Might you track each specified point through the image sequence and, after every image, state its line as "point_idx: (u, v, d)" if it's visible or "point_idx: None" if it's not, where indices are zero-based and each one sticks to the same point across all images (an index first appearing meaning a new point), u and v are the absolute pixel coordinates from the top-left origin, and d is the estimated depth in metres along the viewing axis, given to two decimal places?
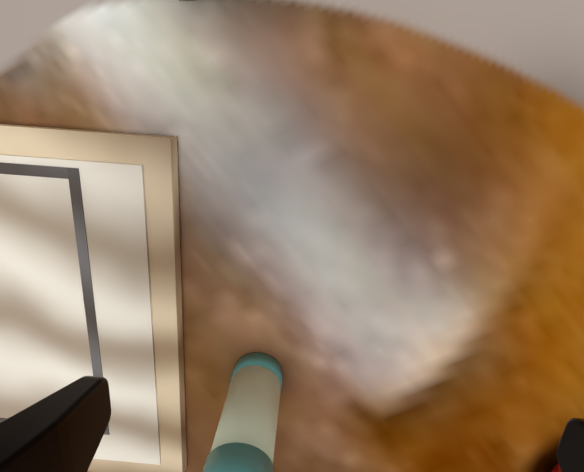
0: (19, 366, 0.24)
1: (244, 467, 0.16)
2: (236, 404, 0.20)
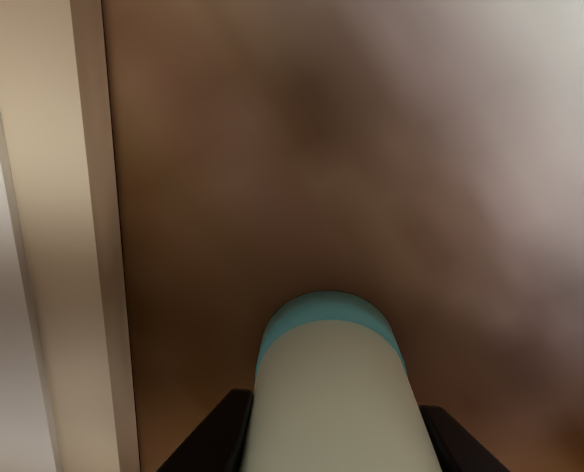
0: None
1: None
2: (303, 463, 0.05)
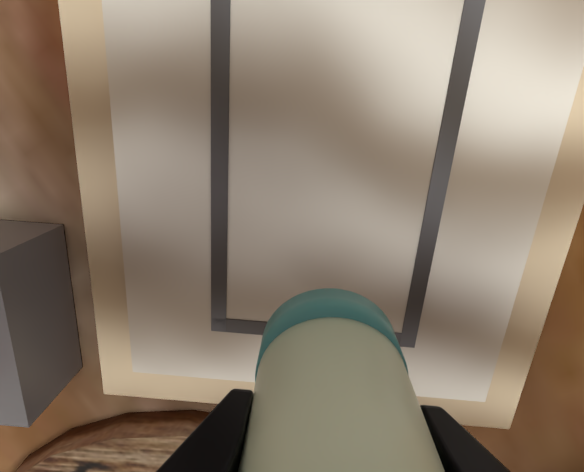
0: (286, 215, 0.13)
1: None
2: (304, 461, 0.04)
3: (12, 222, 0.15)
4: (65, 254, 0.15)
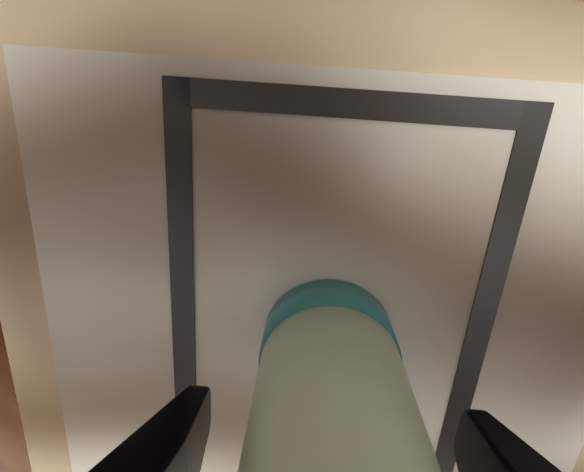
0: None
1: None
2: (303, 432, 0.05)
3: None
4: None
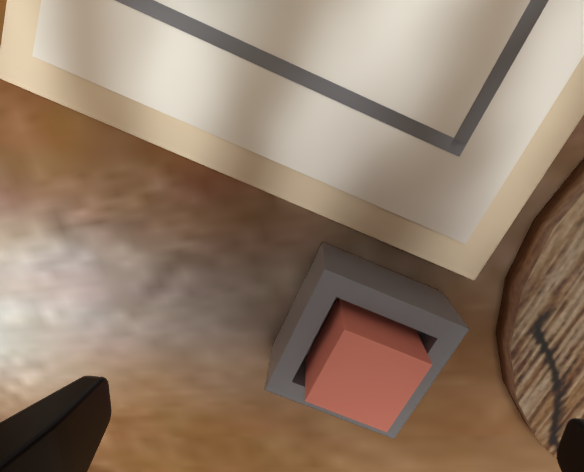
0: (385, 43, 0.15)
1: None
2: None
3: (307, 274, 0.19)
4: (345, 252, 0.19)
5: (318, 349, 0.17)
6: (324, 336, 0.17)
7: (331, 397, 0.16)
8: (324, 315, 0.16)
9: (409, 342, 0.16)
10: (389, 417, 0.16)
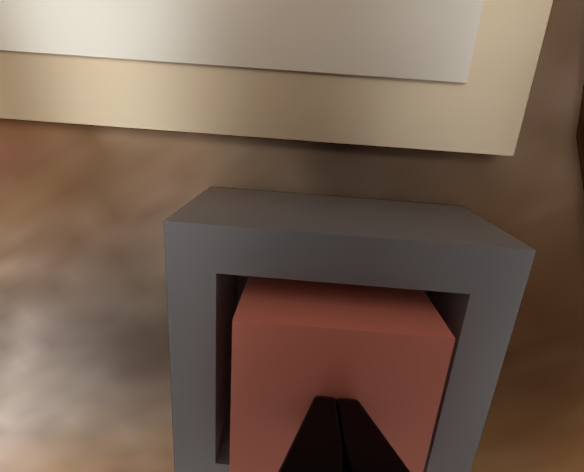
0: None
1: None
2: None
3: None
4: (257, 193, 0.10)
5: None
6: None
7: (275, 463, 0.08)
8: (211, 319, 0.08)
9: (398, 305, 0.08)
10: None
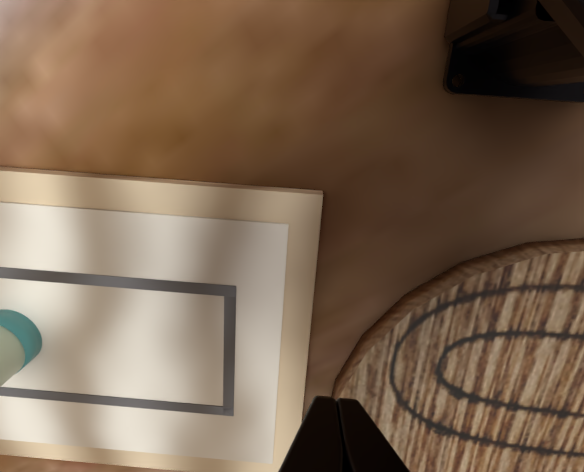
0: (143, 368, 0.20)
1: None
2: None
3: None
4: None
5: None
6: None
7: None
8: None
9: None
10: None
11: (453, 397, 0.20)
